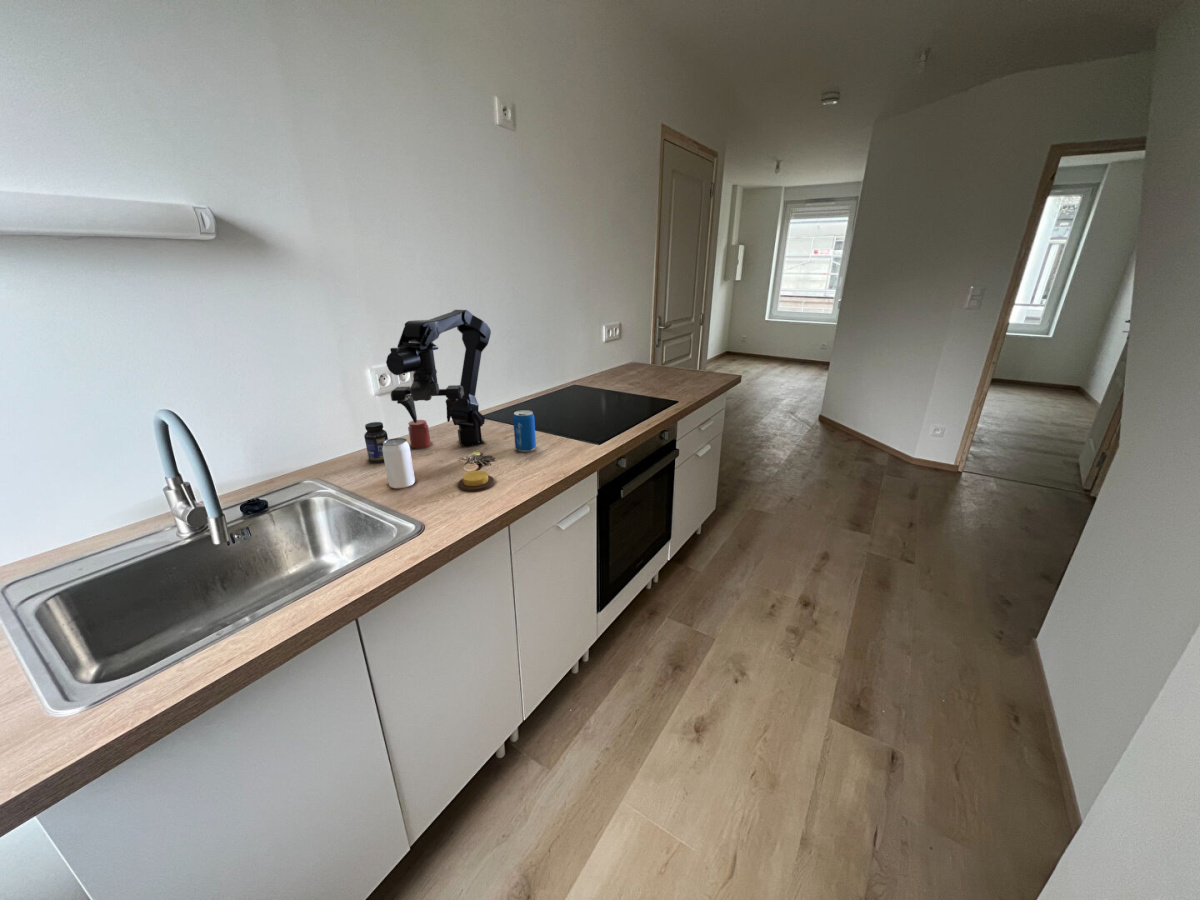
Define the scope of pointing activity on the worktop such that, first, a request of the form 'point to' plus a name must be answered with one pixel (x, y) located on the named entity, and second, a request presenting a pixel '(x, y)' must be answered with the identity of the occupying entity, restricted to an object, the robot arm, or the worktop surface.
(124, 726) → the worktop surface
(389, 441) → the can
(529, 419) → the beverage can
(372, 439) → the pill bottle
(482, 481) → the lid
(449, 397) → the robot arm
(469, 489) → the coaster
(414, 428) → the dark red cylinder
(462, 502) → the worktop surface
